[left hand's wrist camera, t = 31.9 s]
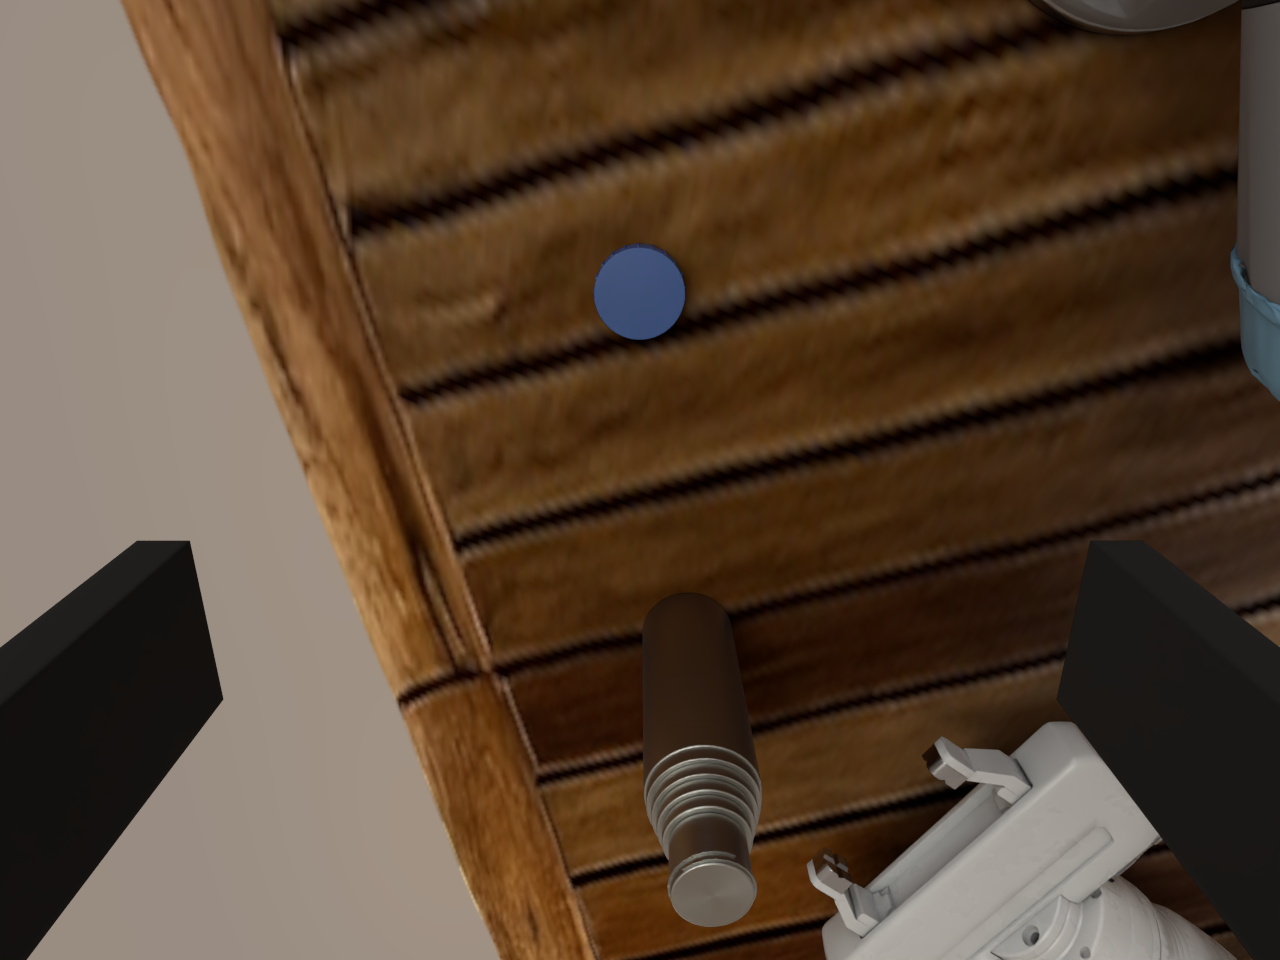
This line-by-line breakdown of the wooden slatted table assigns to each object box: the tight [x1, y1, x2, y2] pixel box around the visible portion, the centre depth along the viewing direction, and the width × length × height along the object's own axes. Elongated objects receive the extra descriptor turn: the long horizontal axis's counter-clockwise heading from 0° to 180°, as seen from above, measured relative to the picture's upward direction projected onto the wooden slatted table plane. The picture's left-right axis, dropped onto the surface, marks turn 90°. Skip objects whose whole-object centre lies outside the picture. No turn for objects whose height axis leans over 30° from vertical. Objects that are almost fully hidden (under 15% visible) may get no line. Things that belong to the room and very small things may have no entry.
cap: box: [593, 243, 686, 340], centre depth 42 cm, size 4×4×2 cm
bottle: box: [643, 593, 762, 927], centre depth 41 cm, size 5×5×19 cm
